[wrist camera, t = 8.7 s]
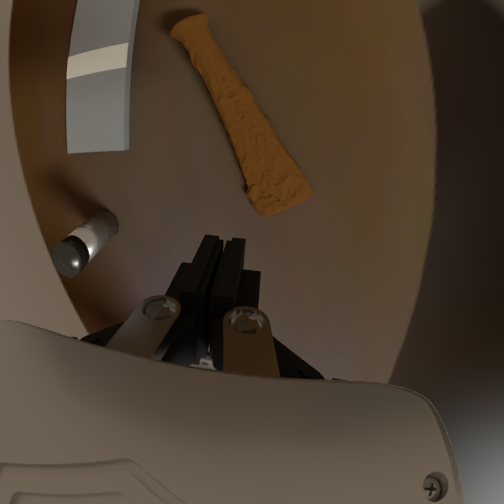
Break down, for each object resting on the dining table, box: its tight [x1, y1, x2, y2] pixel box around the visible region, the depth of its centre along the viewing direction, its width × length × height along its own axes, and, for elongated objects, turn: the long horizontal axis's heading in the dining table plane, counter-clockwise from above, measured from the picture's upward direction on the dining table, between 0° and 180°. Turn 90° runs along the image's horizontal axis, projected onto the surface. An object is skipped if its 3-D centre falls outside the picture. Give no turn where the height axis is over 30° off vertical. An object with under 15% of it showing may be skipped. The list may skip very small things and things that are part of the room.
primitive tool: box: [169, 13, 313, 217], centre depth 20 cm, size 19×6×4 cm, turn 29°
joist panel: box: [66, 0, 140, 153], centre depth 18 cm, size 18×7×1 cm, turn 175°
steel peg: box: [51, 210, 119, 278], centre depth 24 cm, size 3×3×8 cm
